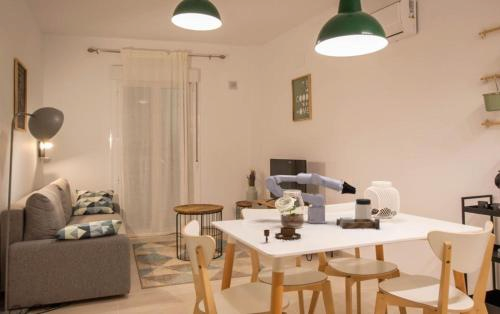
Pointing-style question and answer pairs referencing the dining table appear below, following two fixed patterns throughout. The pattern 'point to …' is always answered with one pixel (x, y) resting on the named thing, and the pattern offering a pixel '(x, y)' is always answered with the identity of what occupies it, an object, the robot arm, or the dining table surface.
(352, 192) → the robot arm
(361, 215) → the jar
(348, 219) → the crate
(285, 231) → the place setting
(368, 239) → the dining table surface
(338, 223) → the wooden tray
